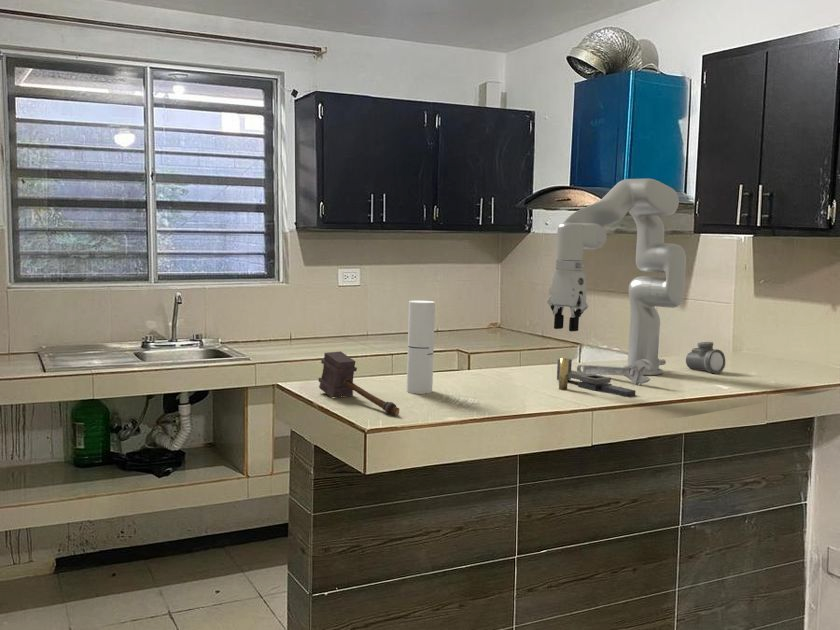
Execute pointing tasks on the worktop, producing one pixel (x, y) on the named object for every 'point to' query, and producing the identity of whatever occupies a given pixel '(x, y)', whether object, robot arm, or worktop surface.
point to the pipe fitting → (706, 358)
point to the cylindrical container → (420, 346)
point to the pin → (563, 373)
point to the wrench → (621, 370)
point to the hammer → (346, 380)
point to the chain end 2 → (607, 388)
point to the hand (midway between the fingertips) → (566, 329)
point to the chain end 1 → (583, 375)
